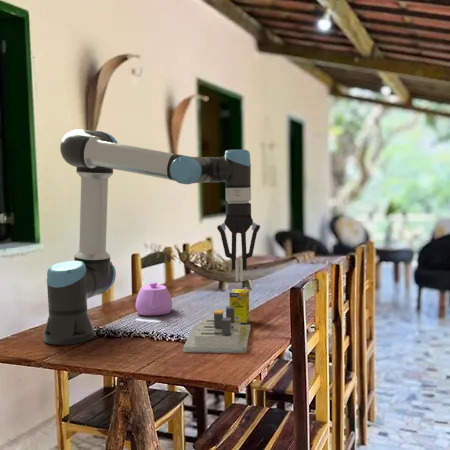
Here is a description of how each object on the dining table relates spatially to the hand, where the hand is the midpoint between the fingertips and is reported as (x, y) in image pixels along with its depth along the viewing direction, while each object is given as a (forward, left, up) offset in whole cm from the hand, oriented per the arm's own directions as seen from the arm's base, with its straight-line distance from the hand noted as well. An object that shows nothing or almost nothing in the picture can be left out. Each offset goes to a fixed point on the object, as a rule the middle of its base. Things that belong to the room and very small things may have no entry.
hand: (239, 280), depth 172 cm
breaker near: (-4, -7, -14) cm, 16 cm away
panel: (-6, 0, -18) cm, 20 cm away
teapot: (-33, +32, -19) cm, 50 cm away
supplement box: (-1, +20, -19) cm, 27 cm away
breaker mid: (-6, 0, -14) cm, 15 cm away
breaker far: (-3, +7, -14) cm, 16 cm away
